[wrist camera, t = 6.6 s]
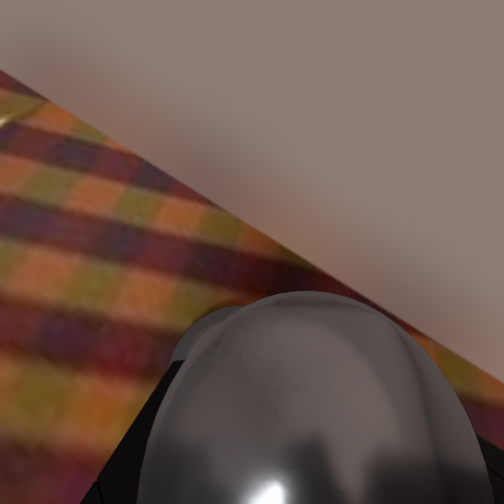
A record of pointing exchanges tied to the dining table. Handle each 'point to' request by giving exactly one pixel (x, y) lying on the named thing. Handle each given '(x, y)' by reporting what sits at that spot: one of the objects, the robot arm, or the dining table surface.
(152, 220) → the dining table surface
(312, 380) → the grey piece
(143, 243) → the dining table surface
